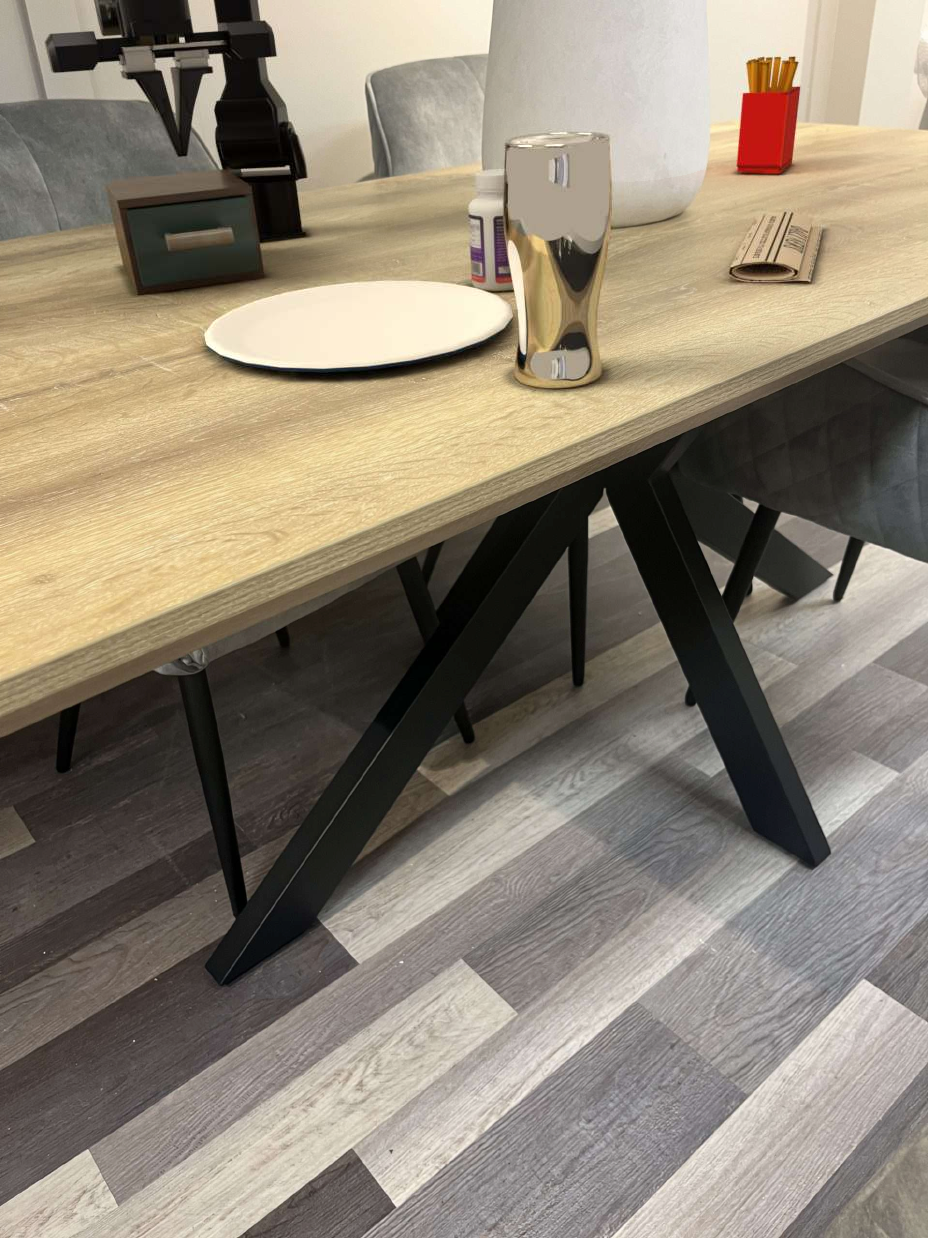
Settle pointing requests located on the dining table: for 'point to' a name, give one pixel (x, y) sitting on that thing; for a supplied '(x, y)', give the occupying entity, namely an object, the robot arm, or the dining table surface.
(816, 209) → the dining table surface
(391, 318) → the plate
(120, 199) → the cabinet
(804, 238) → the newspaper
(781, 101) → the french fries container
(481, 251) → the pill bottle
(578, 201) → the beer glass
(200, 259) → the drawer
